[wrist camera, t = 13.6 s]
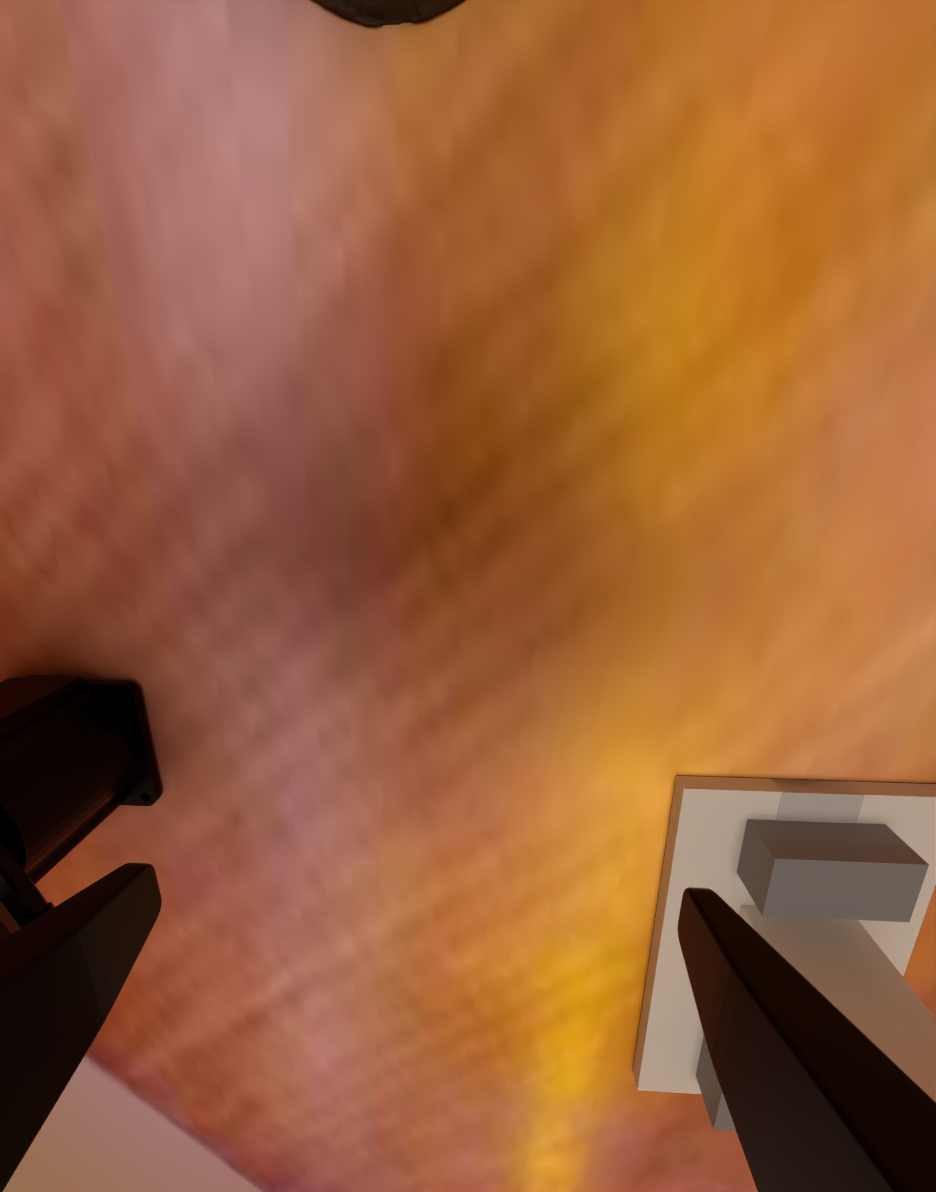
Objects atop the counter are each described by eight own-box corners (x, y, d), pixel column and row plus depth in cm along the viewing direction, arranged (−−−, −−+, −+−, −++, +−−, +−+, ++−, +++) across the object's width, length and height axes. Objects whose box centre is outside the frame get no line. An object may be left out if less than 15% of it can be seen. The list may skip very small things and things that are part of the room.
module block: (827, 987, 24) (1093, 1404, 13) (724, 982, 24) (905, 1388, 14) (850, 908, 23) (1167, 1305, 12) (740, 903, 23) (956, 1290, 12)
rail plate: (846, 1083, 27) (890, 1160, 24) (632, 1070, 28) (650, 1144, 25) (946, 784, 21) (1020, 836, 18) (676, 775, 22) (705, 825, 19)
